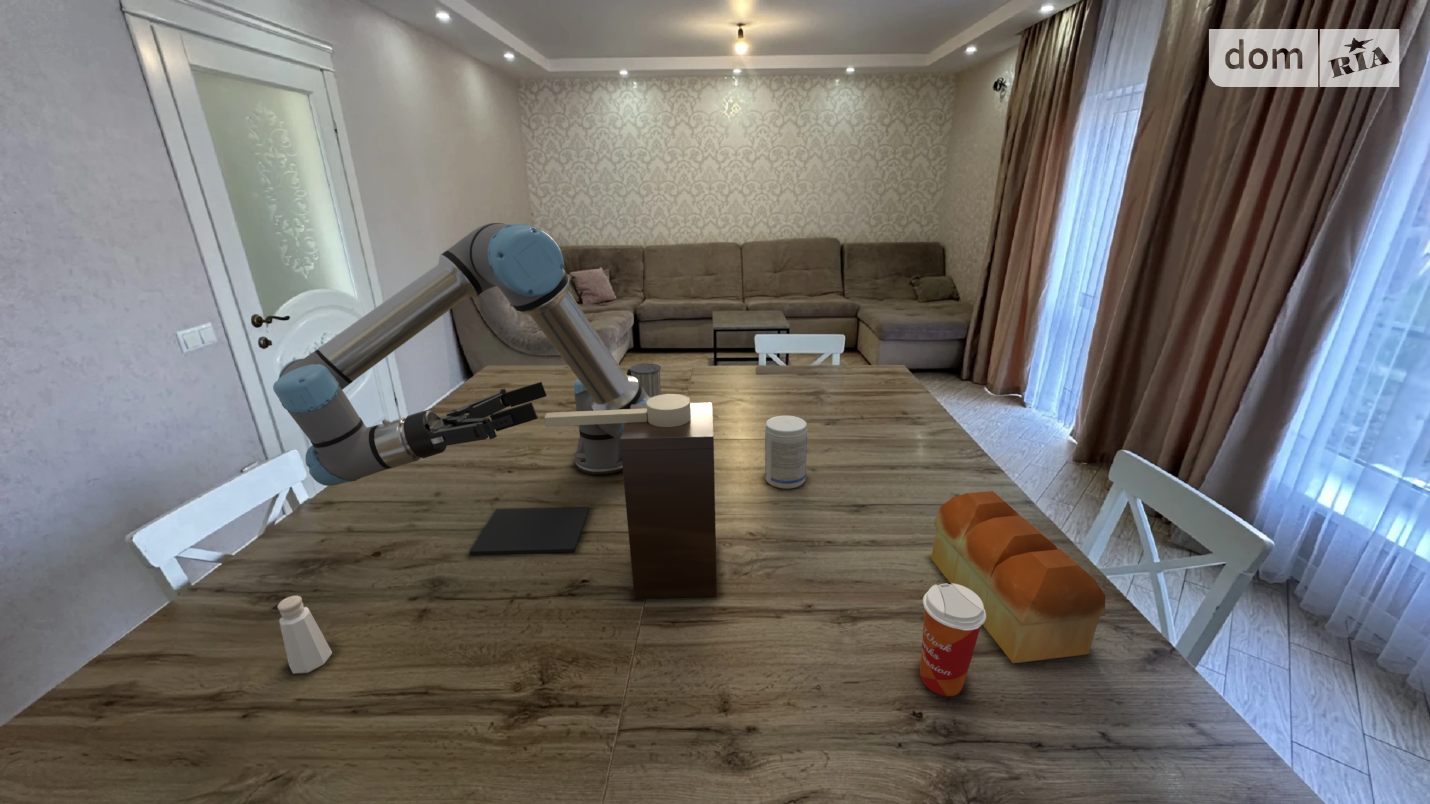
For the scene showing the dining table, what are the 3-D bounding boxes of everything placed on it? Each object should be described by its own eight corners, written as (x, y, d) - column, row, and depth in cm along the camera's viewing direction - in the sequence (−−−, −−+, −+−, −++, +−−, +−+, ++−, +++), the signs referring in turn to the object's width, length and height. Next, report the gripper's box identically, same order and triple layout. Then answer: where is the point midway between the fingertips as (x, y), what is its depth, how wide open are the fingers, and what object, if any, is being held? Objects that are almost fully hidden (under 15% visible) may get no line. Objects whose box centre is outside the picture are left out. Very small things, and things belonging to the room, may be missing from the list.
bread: (1092, 656, 80) (1117, 573, 75) (1012, 666, 79) (1032, 582, 73) (991, 551, 103) (1005, 482, 98) (928, 557, 102) (938, 488, 97)
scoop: (551, 415, 91) (549, 398, 90) (690, 409, 92) (689, 392, 91) (542, 433, 85) (539, 415, 83) (691, 426, 86) (690, 408, 85)
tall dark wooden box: (642, 548, 106) (631, 404, 95) (715, 546, 106) (712, 402, 95) (634, 599, 93) (619, 438, 82) (717, 596, 93) (713, 436, 82)
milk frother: (669, 411, 171) (667, 365, 166) (636, 429, 159) (632, 380, 153) (634, 402, 178) (630, 359, 173) (600, 419, 166) (595, 372, 160)
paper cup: (903, 659, 80) (914, 582, 75) (954, 655, 81) (968, 578, 76) (927, 706, 73) (941, 624, 68) (982, 701, 74) (1000, 619, 68)
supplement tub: (813, 482, 128) (817, 425, 123) (782, 494, 124) (784, 435, 118) (786, 466, 136) (788, 411, 131) (756, 477, 131) (756, 420, 126)
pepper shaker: (341, 650, 84) (321, 592, 80) (306, 679, 79) (283, 618, 75) (315, 642, 85) (294, 585, 81) (280, 669, 81) (255, 610, 77)
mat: (497, 512, 119) (496, 508, 119) (589, 509, 119) (589, 506, 119) (469, 555, 105) (469, 551, 105) (574, 552, 106) (574, 548, 105)
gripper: (373, 443, 78) (520, 398, 80) (427, 397, 102) (540, 363, 104) (396, 489, 80) (538, 443, 82) (444, 433, 104) (553, 399, 106)
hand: (539, 398), depth 93 cm, fingers open, 13 cm apart
